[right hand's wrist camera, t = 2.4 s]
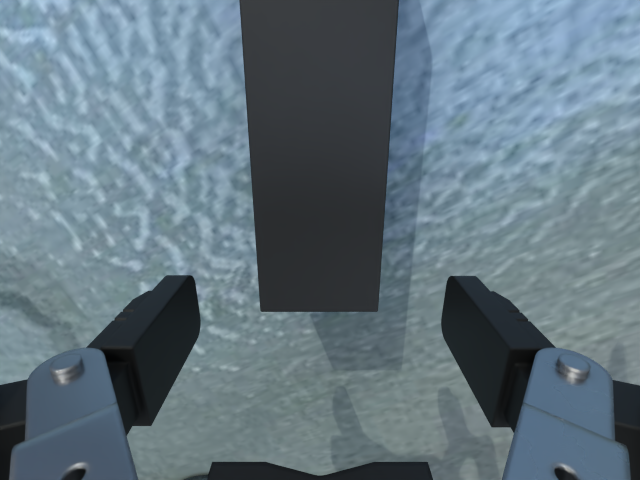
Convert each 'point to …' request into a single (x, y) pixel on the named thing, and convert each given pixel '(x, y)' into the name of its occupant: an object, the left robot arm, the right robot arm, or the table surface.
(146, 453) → the table surface
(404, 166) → the table surface
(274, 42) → the bar
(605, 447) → the right robot arm
